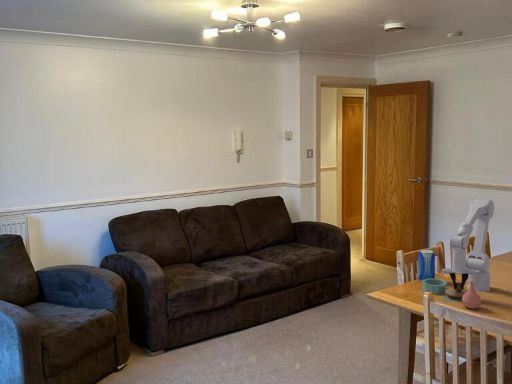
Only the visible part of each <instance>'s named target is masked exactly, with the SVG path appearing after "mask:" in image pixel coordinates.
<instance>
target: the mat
mask: <svg viewBox="0 0 512 384" xmlns="http://www.w3.org/2000/svg"><path fill="white" fill-rule="evenodd" d="M441 297H442V300H443V302H449V303H463V302H462V298H459V297H452V296H449V295H447V294H445V293H443V294H441Z"/></svg>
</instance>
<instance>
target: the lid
mask: <svg viewBox="0 0 512 384" xmlns="http://www.w3.org/2000/svg"><path fill="white" fill-rule="evenodd" d="M467 291H468V288H465V287H464V289H463V290H462V282H460V281H459V282H457V281H456V290H454V286H453V287H447V289H445V294H447V295H449V296H452V297H459V298H463V295H464V294H465V293H466V292H467Z"/></svg>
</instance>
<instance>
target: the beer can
mask: <svg viewBox="0 0 512 384" xmlns="http://www.w3.org/2000/svg"><path fill="white" fill-rule="evenodd" d="M425 279H436V255H435V253H434V251H433V250H431V249H421V250H419V252H418V254H417V280H418V281H419V282H421V283H422V281H423V280H425Z"/></svg>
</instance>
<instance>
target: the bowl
mask: <svg viewBox="0 0 512 384" xmlns="http://www.w3.org/2000/svg"><path fill="white" fill-rule="evenodd" d="M421 283H422V284H421V286H422V289H421V290H422V292H424V293H426V292H432V293H433V294H432V295H442V294H443V293H445V289H447V288H448V286H447V285H448V283H447V281H446V280H444V279H440V278H435V279H425V280H423V281H422V282H421Z"/></svg>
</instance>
